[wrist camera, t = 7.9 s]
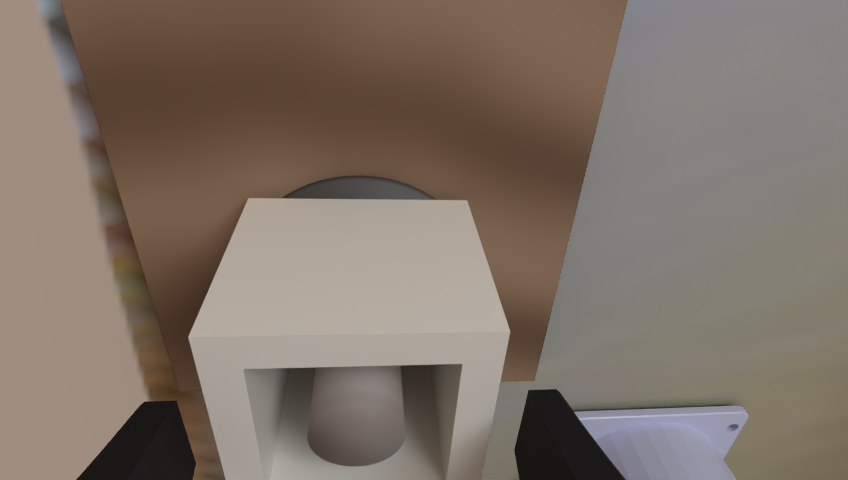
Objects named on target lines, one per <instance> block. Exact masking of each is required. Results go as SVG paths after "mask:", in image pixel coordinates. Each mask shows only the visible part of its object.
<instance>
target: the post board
mask: <svg viewBox="0 0 848 480" xmlns="http://www.w3.org/2000/svg"><path fill="white" fill-rule="evenodd" d="M627 1H628V0H61V4H62V7H63V10H64V14H65V17H66V20H67V23H68V27H69V30H70V33H71V37H72V40H73V43H74V46H75V50H76V53H77V56H78V59H79V63H80V66H81V69H82V73H83V76H84V79H85V82H86V86H87V89H88V92H89V96H90V99H91V102H92V105H93V109H94V112H95V115H96V118H97V122H98V125H99V128H100V132H101V135H102V138H103V141H104V145H105V148H106V151H107V155H108V158H109V161H110V164H111V168H112V171H113V174H114V177H115V181H116V184H117V187H118V191H119V194H120V197H121V200H122V204H123V207H124V210H125V213H126V217H127V220H128V223H129V227H130V230H131V233H132V236H133V240H134V243H135V246H136V250H137V253H138V256H139V259H140V263H141V266H142V269H143V272H144V276H145V279H146V282H147V286H148V289H149V292H150V295H151V299H152V302H153V305H154V309H155V312H156V315H157V318H158V322H159V325H160V328H161V331H162V335H163V338H164V341H165V345H166V348H167V351H168V354H169V358H170V361H171V364H172V368H173V371H174V374H175V377H176V381H177V384H178V387H179V390H180V392H183V391H202V388H201V384H200V380H199V376H198V372H197V369H196V365H195V361H194V357H193V353H192V350H191V346H190V342H189V338H188V337H189V334H190V332H191V330H192V327H193V325H194V323H195V320H196V318H197V316H198V313H199V311H200V309H201V306H202V304H203V302H204V300H205V297H206V295H207V293H208V290H209V288H210V286H211V283H212V281H213V279H214V276H215V274H216V272H217V269H218V267H219V265H220V263H221V260H222V258H223V256H224V253H225V251H226V249H227V246H228V244H229V242H230V239H231V237H232V235H233V232H234V230H235V228H236V226H237V223H238V221H239V219H240V216H241V214H242V212H243V209H244V207H245V205H246V202H247V200H248V198H285V199H390V200H467V201H468V204H469V207H470V210H471V214H472V217H473V220H474V223H475V226H476V229H477V232H478V235H479V238H480V241H481V244H482V247H483V250H484V253H485V256H486V259H487V262H488V265H489V268H490V271H491V274H492V277H493V280H494V283H495V286H496V289H497V292H498V296H499V299H500V302H501V305H502V308H503V311H504V314H505V317H506V320H507V323H508V326H509V329H510V336H509V341H508V346H507V351H506V356H505V361H504V366H503V371H502V376H501V381H500V382H505V381H534V380H535V376H536V372H537V368H538V364H539V359H540V355H541V351H542V347H543V343H544V339H545V335H546V331H547V327H548V323H549V319H550V315H551V311H552V306H553V302H554V298H555V294H556V290H557V286H558V282H559V278H560V274H561V270H562V266H563V262H564V258H565V253H566V249H567V245H568V241H569V237H570V233H571V229H572V225H573V221H574V217H575V213H576V209H577V205H578V200H579V196H580V192H581V188H582V184H583V180H584V176H585V172H586V168H587V164H588V160H589V156H590V151H591V147H592V143H593V139H594V135H595V131H596V127H597V123H598V119H599V115H600V111H601V107H602V103H603V98H604V94H605V90H606V86H607V82H608V78H609V74H610V70H611V66H612V62H613V58H614V54H615V50H616V45H617V41H618V37H619V33H620V29H621V25H622V21H623V17H624V13H625V9H626V5H627ZM307 440H308V444H309V446H310V448H311V450H312V451H313V452H314V453H315V454H316V455H317V456H319V457H320V458H322V459H323V460H325V461H328V462H330V463H333V464H337V465H342V466H351V467H356V466H367V465H372V464H376V463H378V462H381V461H383V460H386V459H387V458H389V457H391V456H392V455H394V454H395V453H396V452H397V451H398V450H399V449H400V448H401V446H402V444H403V442H404V440H405V423H404V408H403V392H402V376H401V365H395V366H353V367H316V369H315V377H314V385H313V393H312V401H311V409H310V417H309V426H308V434H307Z"/></svg>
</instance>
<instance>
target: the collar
mask: <svg viewBox="0 0 848 480" xmlns="http://www.w3.org/2000/svg"><path fill="white" fill-rule="evenodd" d="M509 336H510V329H509V326H508V323H507V320H506V317H505V314H504V311H503V308H502V305H501V302H500V299H499V296H498V292H497V289H496V286H495V283H494V280H493V277H492V274H491V271H490V268H489V265H488V262H487V259H486V256H485V253H484V250H483V247H482V244H481V241H480V238H479V235H478V232H477V229H476V226H475V223H474V220H473V217H472V214H471V210H470V207H469V204H468V201H467V200H390V199H285V198H248V200H247V202H246V205H245V207H244V209H243V212H242V214H241V216H240V219H239V221H238V223H237V226H236V228H235V230H234V232H233V235H232V237H231V239H230V242H229V244H228V246H227V249H226V251H225V253H224V256H223V258H222V260H221V263H220V265H219V267H218V269H217V272H216V274H215V276H214V279H213V281H212V283H211V286H210V288H209V290H208V293H207V295H206V297H205V300H204V302H203V304H202V306H201V309H200V311H199V313H198V316H197V318H196V320H195V323H194V325H193V327H192V330H191V332H190V334H189V337H188V338H189V342H190V346H191V350H192V353H193V357H194V361H195V365H196V369H197V372H198V376H199V380H200V384H201V388H202V391H203V395H204V399H205V403H206V407H207V411H208V414H209V418H210V422H211V426H212V430H213V433H214V437H215V441H216V445H217V449H218V452H219V456H220V460H221V464H222V468H223V471H224V475H225V479H226V480H481V476H482V471H483V466H484V461H485V456H486V451H487V446H488V441H489V436H490V431H491V426H492V421H493V416H494V411H495V406H496V401H497V396H498V391H499V386H500V381H501V376H502V371H503V366H504V361H505V356H506V351H507V346H508V341H509ZM395 365H401V376H402V392H403V408H404V423H405V440H404V442H403V444H402V446H401V448H400V449H399V450H398V451H397V452H396V453H395V454H394V455H392V456H391V457H389V458H387V459H386V460H383V461H381V462H378V463H376V464H372V465H367V466H356V467H351V466H342V465H337V464H333V463H330V462H328V461H325V460H323V459H322V458H320V457H319V456H317V455H316V454H315V453H314V452H313V451H312V450H311V448H310V446H309V444H308V440H307V434H308V426H309V417H310V409H311V401H312V393H313V385H314V377H315V369H316V367H353V366H395Z"/></svg>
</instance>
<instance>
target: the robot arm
mask: <svg viewBox="0 0 848 480" xmlns="http://www.w3.org/2000/svg"><path fill="white" fill-rule="evenodd" d="M747 418H748V414H747V412H746V411H745V410H744V408H743V407H741V406H709V407H683V408H656V409H629V410H603V411H576V412H574V411H573V410H572V409H571V407H570V406H569V404H568V403H567V402H566V400H565V399H564V397H563V396H562V395H561V393H560V392H559V391H558V390H557V389H551V390H529V391H528V395H527V399H526V404H525V408H524V412H523V416H522V420H521V425H520V429H519V433H518V437H517V441H516V446H515V456H516V462H517V468H518V473H519V479H520V480H736V479H735V477H734V475H733V474H732V472H731V471H730V469H729V468H728V466H727V465H726V463H725V461H724V460H723V459H724V457H725V455H726V454H727V452H728V450H729V449H730V447H731V445H732V444H733V442H734V440H735V439H736V437H737V436H738V434H739V432H740V431H741V429H742V427H743V426H744V424H745V422H746V421H747ZM195 465H196V462H195V459H194V456H193V452H192V449H191V446H190V443H189V440H188V436H187V433H186V430H185V427H184V424H183V420H182V417H181V414H180V411H179V408H178V404H177V401H154V402H144V403H143V404H141V405H140V406H139V408H138V409H137V410H136V411H135V412H134V414H133V415H132V416H131V417H130V418H129V419H128V420H127V422H126V423H125V424H124V425H123V427H122V428H121V429H120V430H119V431H118V432H117V433H116V435H115V436H114V437H113V438H112V439H111V441H110V442H109V443H108V444H107V445H106V446H105V448H104V449H103V450H102V451H101V452H100V453H99V455H98V456H97V457H96V458H95V459H94V460H93V461H92V463H91V464H90V465H89V466H88V467H87V468H86V470H85V471H84V472H83V473H82V474H81V475H80V476H79V477H78V478H77V480H192V479H193V475H194V470H195Z"/></svg>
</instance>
